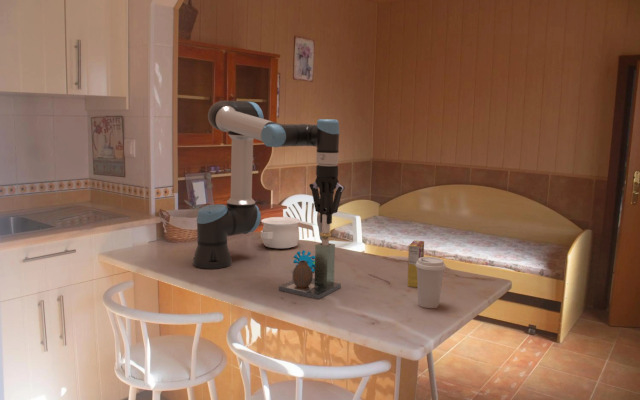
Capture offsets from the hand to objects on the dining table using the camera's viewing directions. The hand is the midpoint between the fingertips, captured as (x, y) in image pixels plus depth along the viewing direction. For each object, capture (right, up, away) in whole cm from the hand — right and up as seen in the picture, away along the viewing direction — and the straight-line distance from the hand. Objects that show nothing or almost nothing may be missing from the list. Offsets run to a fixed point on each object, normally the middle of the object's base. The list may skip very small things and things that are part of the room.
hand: (325, 232), depth 191 cm
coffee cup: (+33, -23, -12) cm, 42 cm away
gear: (-7, -17, +23) cm, 29 cm away
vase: (-8, -18, -2) cm, 20 cm away
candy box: (+33, -19, +10) cm, 39 cm away
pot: (-20, -10, +61) cm, 65 cm away
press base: (-6, -20, 0) cm, 21 cm away
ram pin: (0, -11, +2) cm, 11 cm away
